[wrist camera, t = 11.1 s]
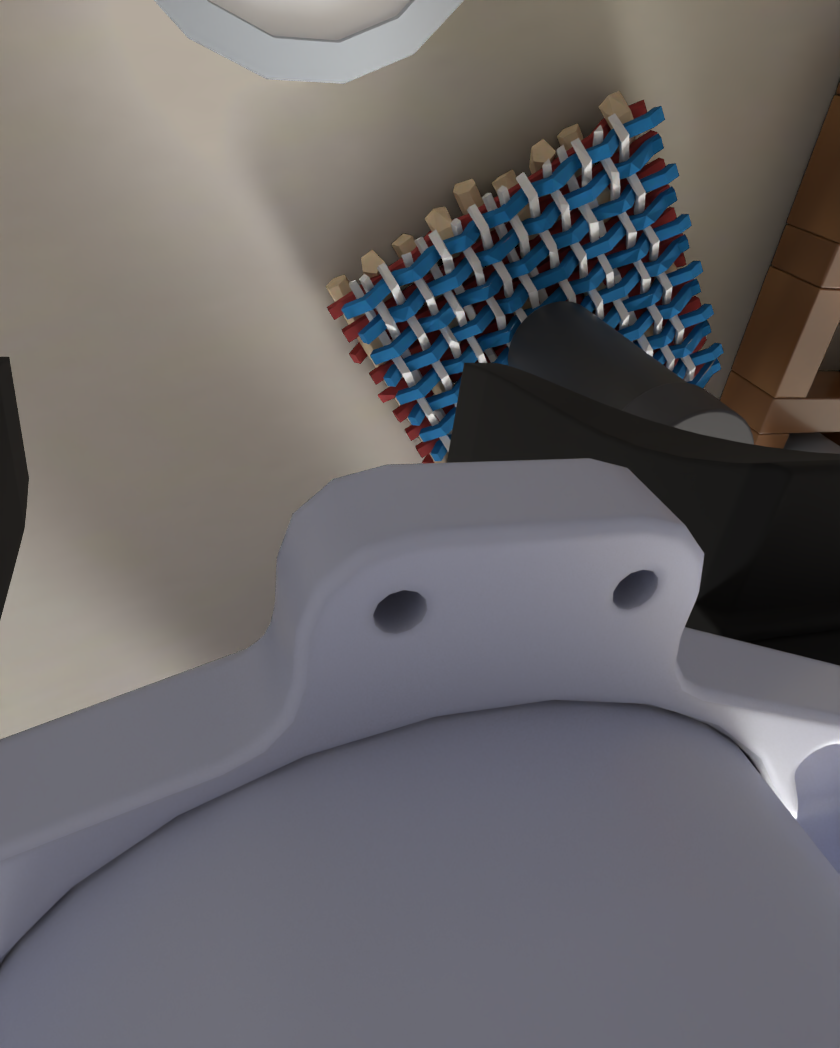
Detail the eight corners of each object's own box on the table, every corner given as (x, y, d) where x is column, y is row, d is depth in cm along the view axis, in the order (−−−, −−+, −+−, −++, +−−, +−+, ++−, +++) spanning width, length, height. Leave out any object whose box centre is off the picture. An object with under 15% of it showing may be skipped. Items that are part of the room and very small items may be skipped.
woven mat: (302, 281, 22) (316, 304, 20) (622, 72, 21) (662, 80, 20) (454, 517, 29) (473, 549, 27) (702, 362, 28) (737, 385, 26)
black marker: (586, 397, 25) (726, 527, 19) (494, 397, 24) (613, 535, 18) (613, 298, 23) (776, 408, 17) (515, 294, 22) (654, 410, 16)
